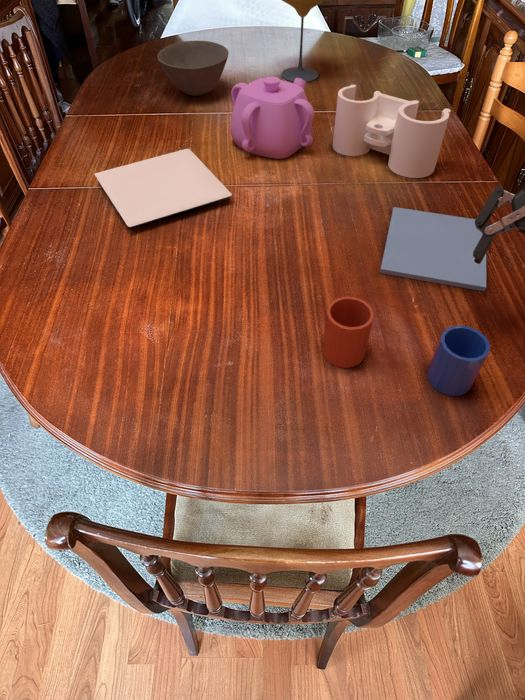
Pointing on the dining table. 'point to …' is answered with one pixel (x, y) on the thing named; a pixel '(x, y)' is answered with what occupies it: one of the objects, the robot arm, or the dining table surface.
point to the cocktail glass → (301, 42)
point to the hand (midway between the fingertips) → (506, 274)
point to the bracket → (388, 131)
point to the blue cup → (457, 360)
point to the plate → (161, 187)
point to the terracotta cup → (347, 331)
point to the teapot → (271, 117)
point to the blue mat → (433, 249)
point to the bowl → (194, 65)
